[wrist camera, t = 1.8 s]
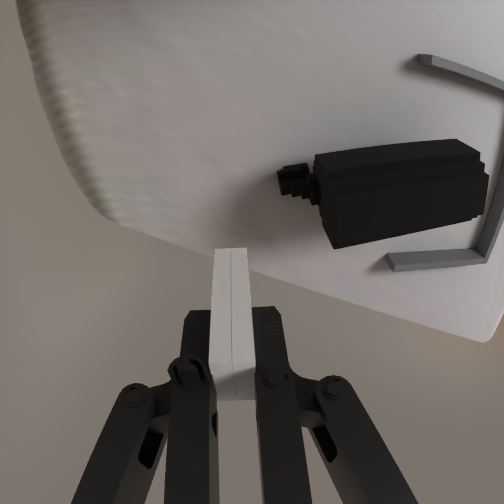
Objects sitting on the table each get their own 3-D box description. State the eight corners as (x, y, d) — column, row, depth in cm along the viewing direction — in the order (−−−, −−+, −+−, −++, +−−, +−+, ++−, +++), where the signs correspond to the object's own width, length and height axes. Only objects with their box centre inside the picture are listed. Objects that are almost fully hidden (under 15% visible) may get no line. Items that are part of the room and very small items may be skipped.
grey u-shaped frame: (418, 53, 22) (432, 55, 20) (518, 90, 23) (531, 95, 21) (385, 259, 37) (392, 272, 35) (477, 253, 37) (486, 263, 35)
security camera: (271, 146, 28) (288, 187, 20) (436, 126, 27) (496, 158, 19) (283, 209, 32) (300, 268, 24) (434, 182, 31) (485, 227, 23)
